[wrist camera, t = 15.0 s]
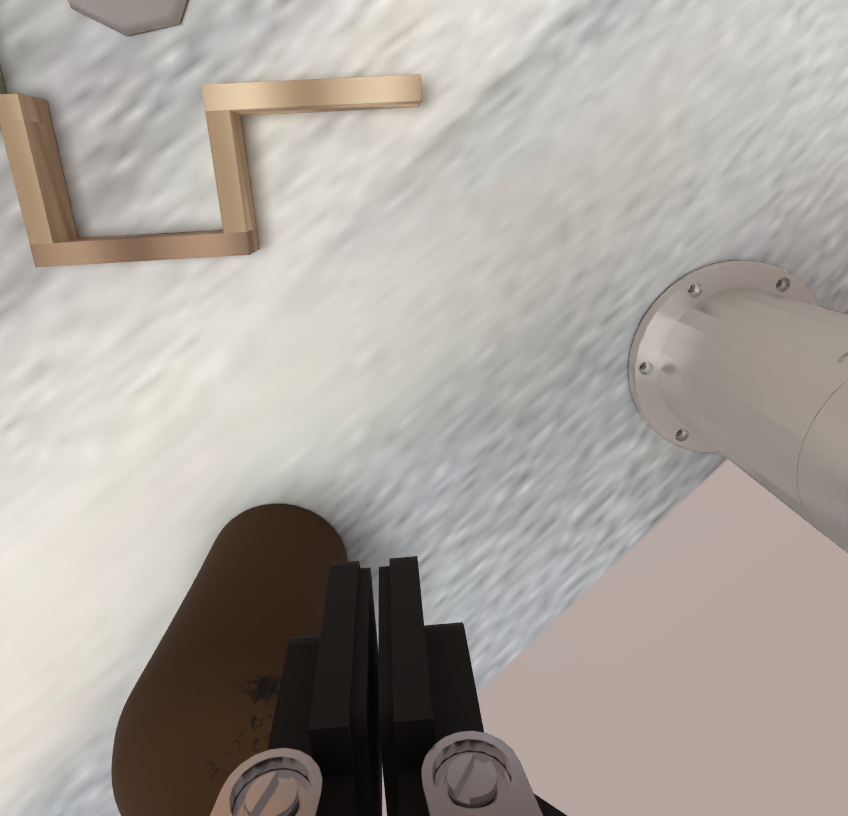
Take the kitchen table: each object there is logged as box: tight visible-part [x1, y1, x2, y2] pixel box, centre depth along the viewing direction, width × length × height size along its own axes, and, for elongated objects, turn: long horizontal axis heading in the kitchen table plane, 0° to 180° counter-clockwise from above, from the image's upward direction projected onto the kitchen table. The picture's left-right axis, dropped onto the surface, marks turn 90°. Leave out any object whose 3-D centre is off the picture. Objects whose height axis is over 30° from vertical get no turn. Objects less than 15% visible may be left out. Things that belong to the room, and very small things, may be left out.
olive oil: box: [112, 505, 347, 816], centre depth 33 cm, size 11×11×25 cm
